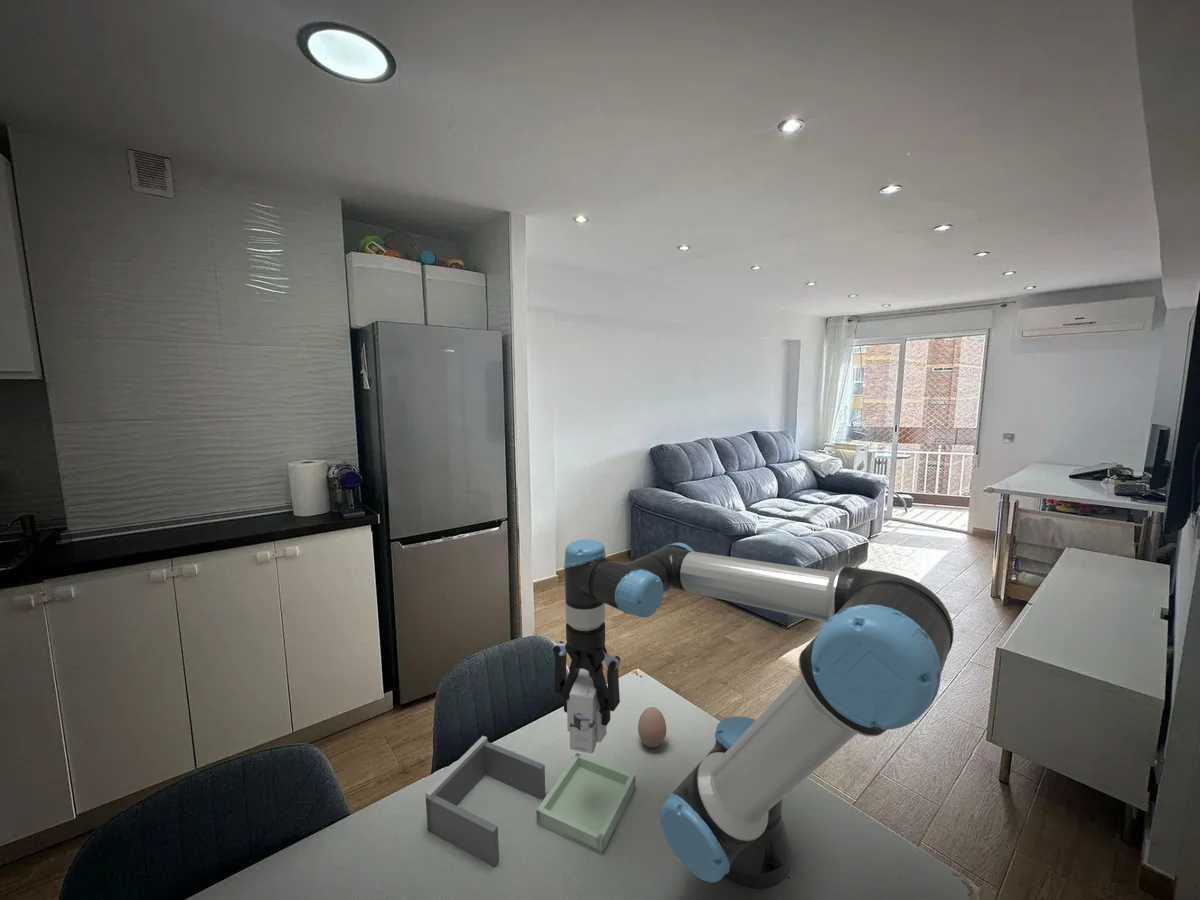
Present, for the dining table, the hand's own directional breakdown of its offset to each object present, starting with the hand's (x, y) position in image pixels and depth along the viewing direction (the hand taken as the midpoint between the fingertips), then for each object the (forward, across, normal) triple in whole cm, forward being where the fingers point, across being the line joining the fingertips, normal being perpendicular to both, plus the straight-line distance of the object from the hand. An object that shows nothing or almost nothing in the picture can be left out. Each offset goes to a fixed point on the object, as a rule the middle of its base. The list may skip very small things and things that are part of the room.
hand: (586, 732), depth 94 cm
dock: (+16, +17, +10) cm, 25 cm away
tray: (+16, 0, 0) cm, 16 cm away
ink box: (+1, 0, 0) cm, 1 cm away
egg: (+16, -6, -21) cm, 27 cm away
